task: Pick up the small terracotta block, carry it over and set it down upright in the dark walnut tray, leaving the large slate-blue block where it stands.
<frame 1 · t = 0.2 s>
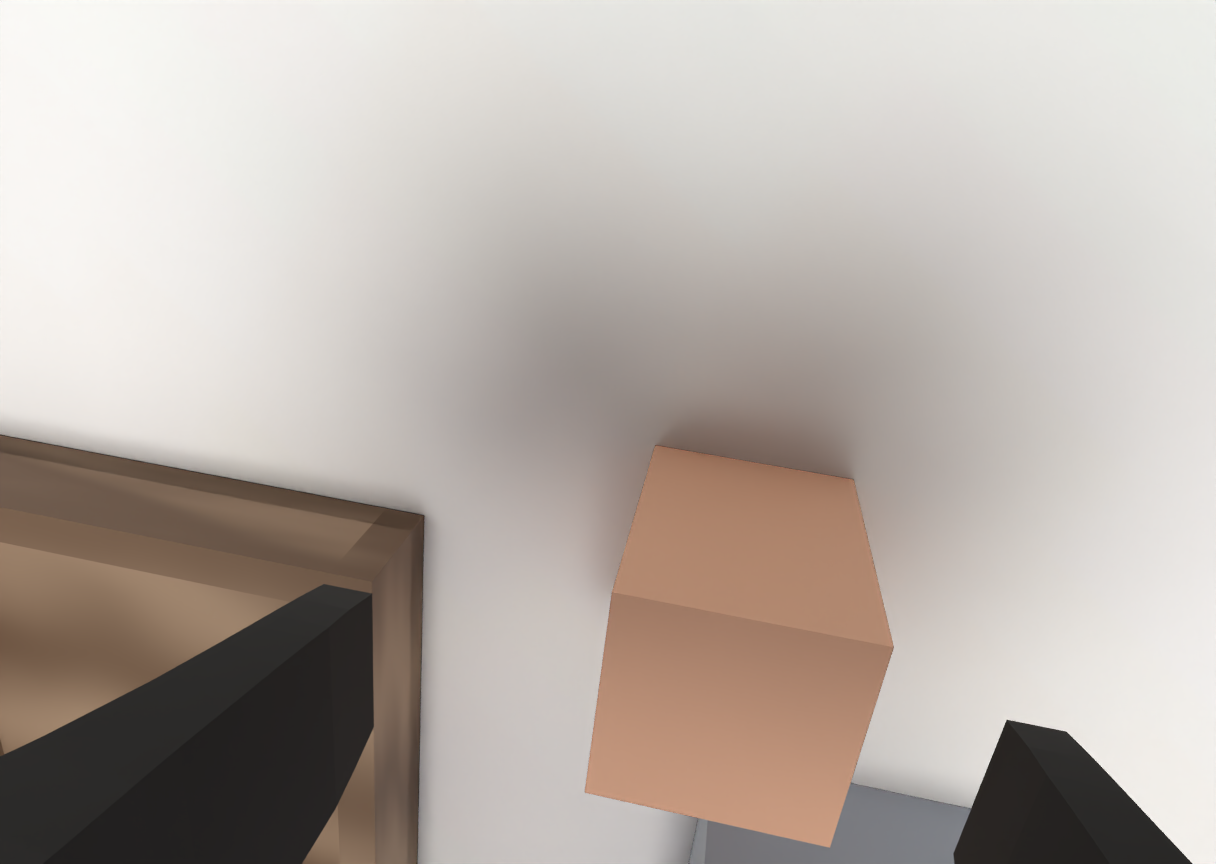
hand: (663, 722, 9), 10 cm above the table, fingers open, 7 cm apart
terracotta block: (735, 545, 19), on the table
walnut tray: (188, 681, 24), on the table
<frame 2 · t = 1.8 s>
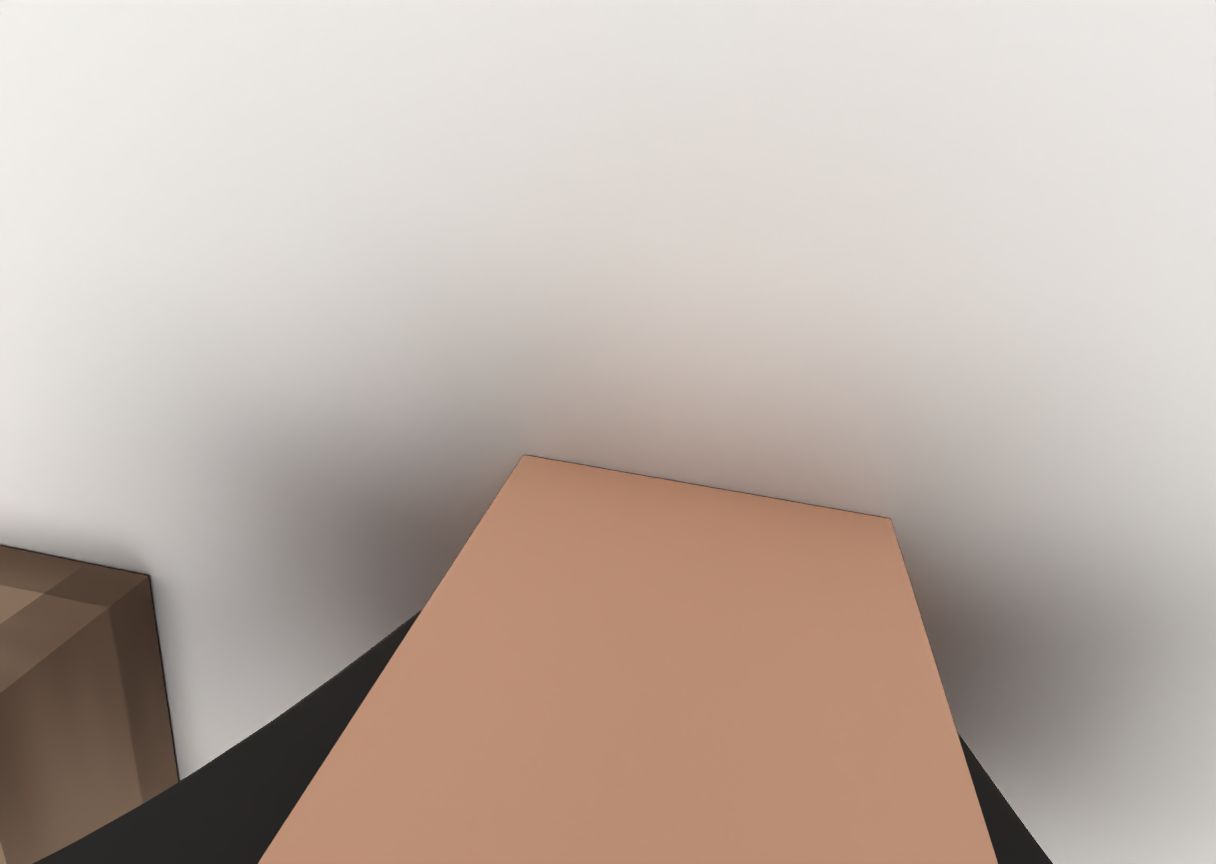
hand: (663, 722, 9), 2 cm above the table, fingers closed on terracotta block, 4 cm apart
terracotta block: (676, 635, 11), on the table, touching gripper
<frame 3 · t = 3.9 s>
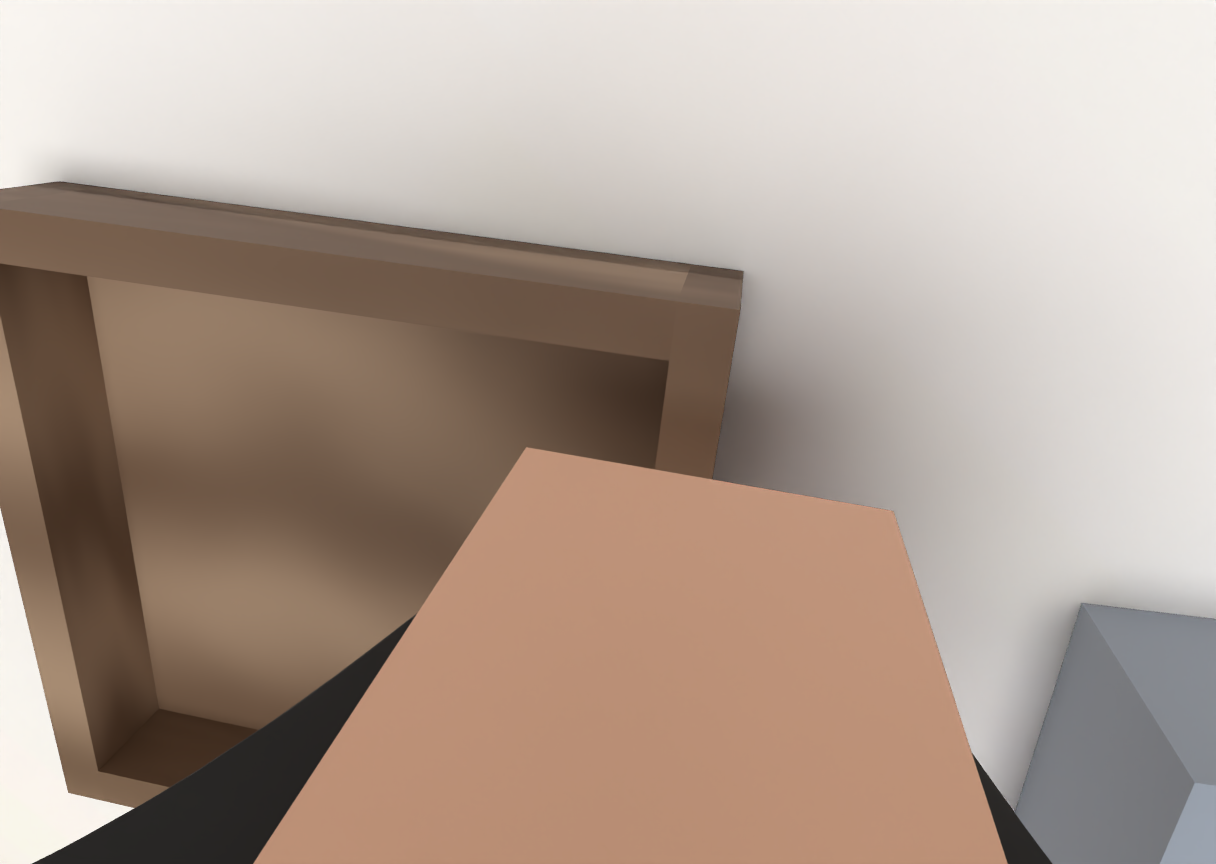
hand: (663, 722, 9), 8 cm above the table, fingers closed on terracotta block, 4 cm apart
slate block: (1205, 750, 18), on the table
terracotta block: (678, 628, 11), point 7 cm above the table, touching gripper
walnut tray: (388, 533, 19), on the table
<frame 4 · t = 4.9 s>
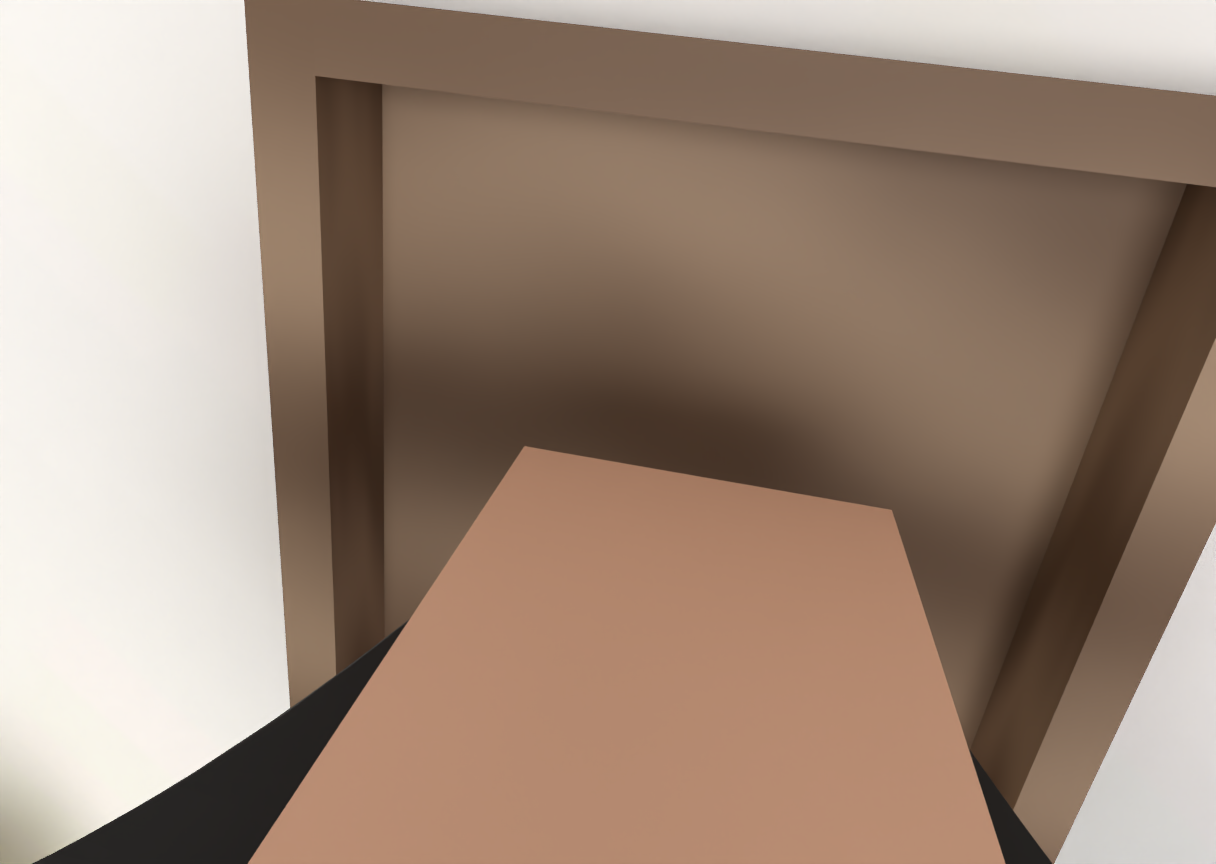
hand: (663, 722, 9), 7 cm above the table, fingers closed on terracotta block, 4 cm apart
terracotta block: (677, 627, 11), point 6 cm above the table, touching gripper
walnut tray: (703, 463, 16), on the table
when the fingers open (3 cm above the table, at t = 6.0 s): terracotta block stays where it is, resting on walnut tray.
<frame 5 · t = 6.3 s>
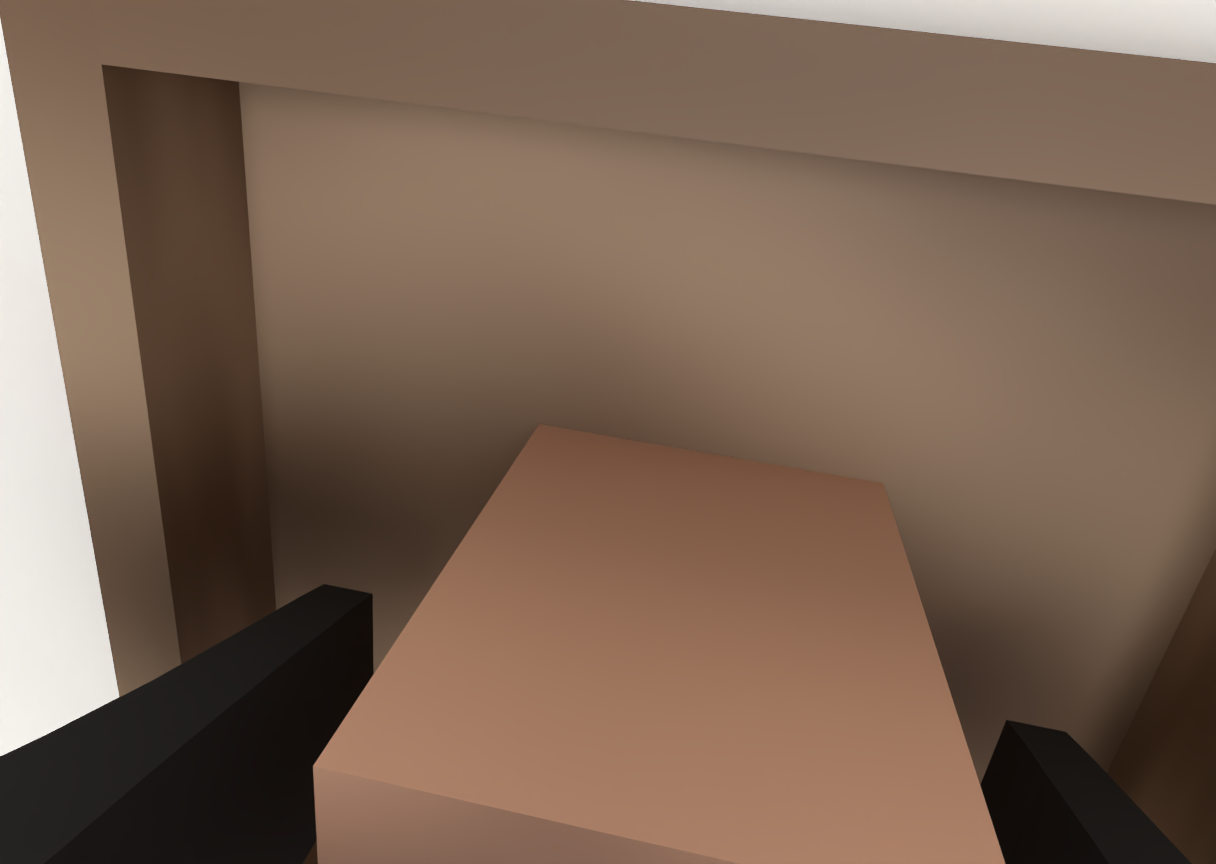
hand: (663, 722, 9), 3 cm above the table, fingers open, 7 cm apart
terracotta block: (681, 596, 11), point 1 cm above the table, touching walnut tray
walnut tray: (685, 571, 12), on the table
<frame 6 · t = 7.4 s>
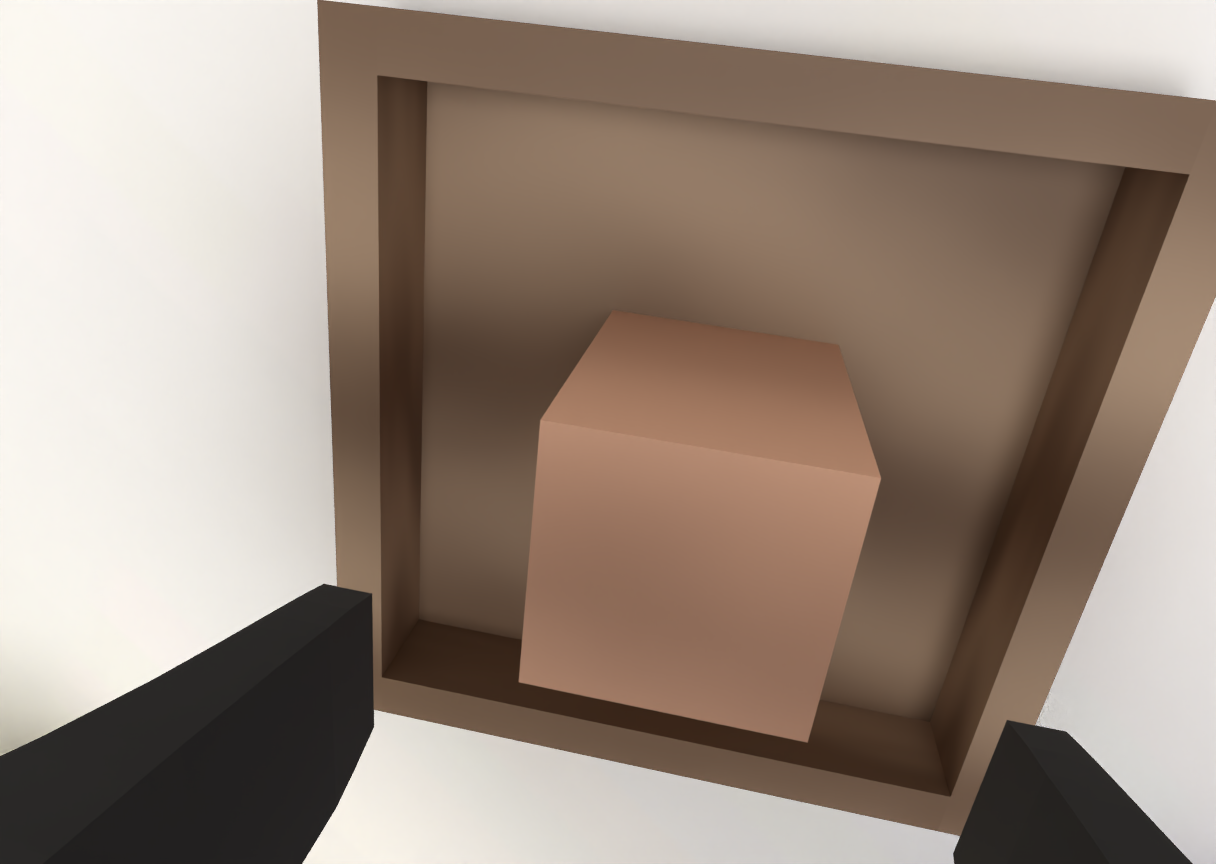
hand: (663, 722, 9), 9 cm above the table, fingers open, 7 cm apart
terracotta block: (706, 430, 17), point 1 cm above the table, touching walnut tray
walnut tray: (707, 420, 18), on the table
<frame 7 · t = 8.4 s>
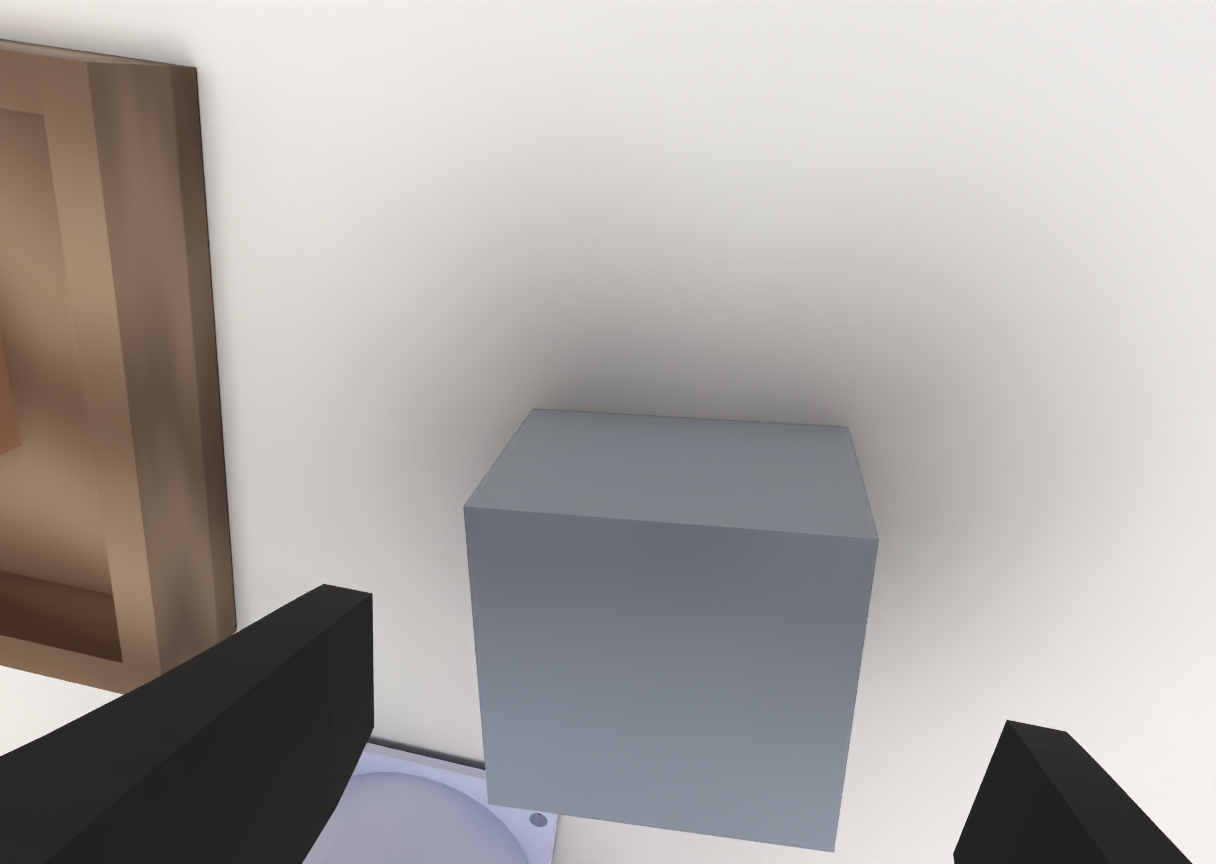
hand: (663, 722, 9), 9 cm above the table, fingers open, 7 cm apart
slate block: (681, 550, 19), on the table
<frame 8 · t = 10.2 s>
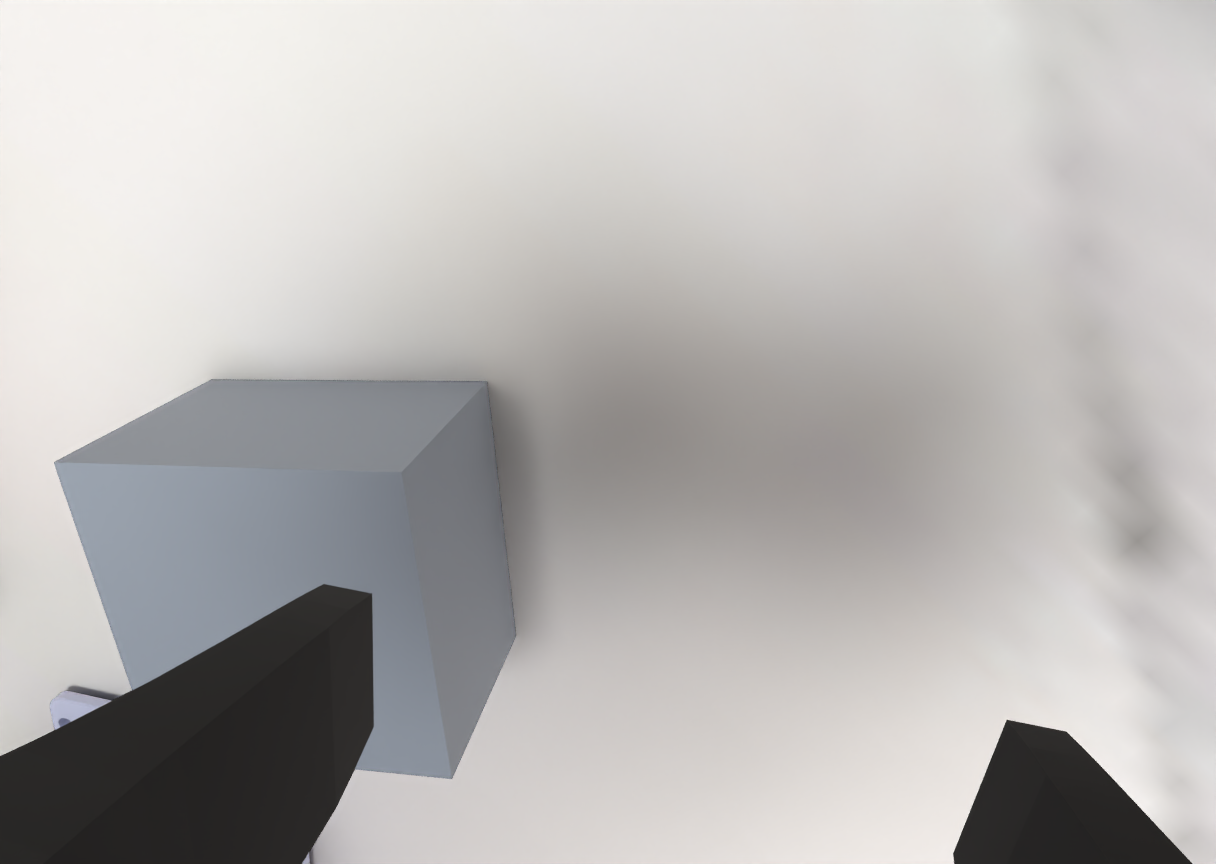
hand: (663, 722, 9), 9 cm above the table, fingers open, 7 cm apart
slate block: (372, 508, 20), on the table
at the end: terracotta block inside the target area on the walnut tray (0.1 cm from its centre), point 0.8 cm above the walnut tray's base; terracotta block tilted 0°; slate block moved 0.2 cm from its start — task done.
